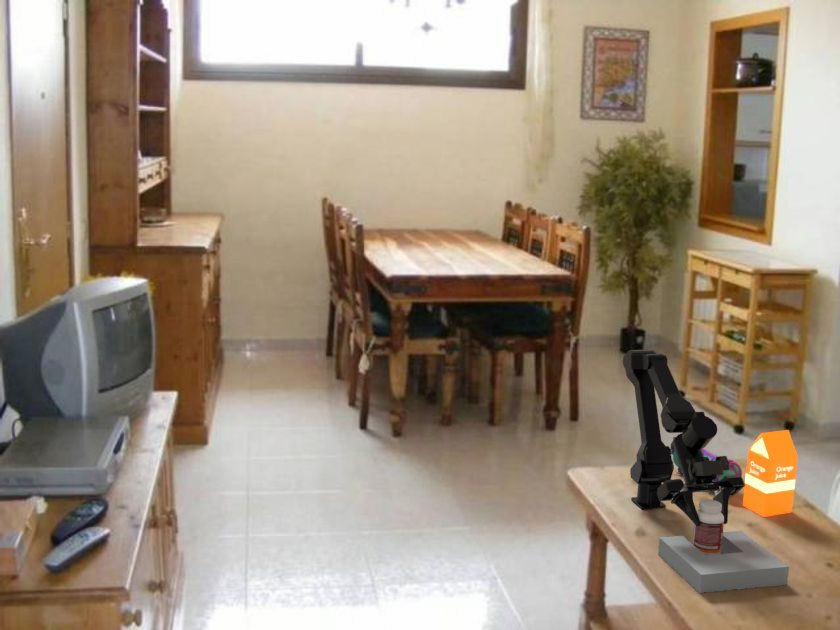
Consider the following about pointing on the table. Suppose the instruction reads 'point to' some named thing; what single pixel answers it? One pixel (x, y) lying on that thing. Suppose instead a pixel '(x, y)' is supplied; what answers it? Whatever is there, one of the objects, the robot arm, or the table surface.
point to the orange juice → (771, 474)
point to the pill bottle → (709, 527)
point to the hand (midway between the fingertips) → (712, 524)
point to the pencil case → (734, 467)
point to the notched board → (724, 563)
